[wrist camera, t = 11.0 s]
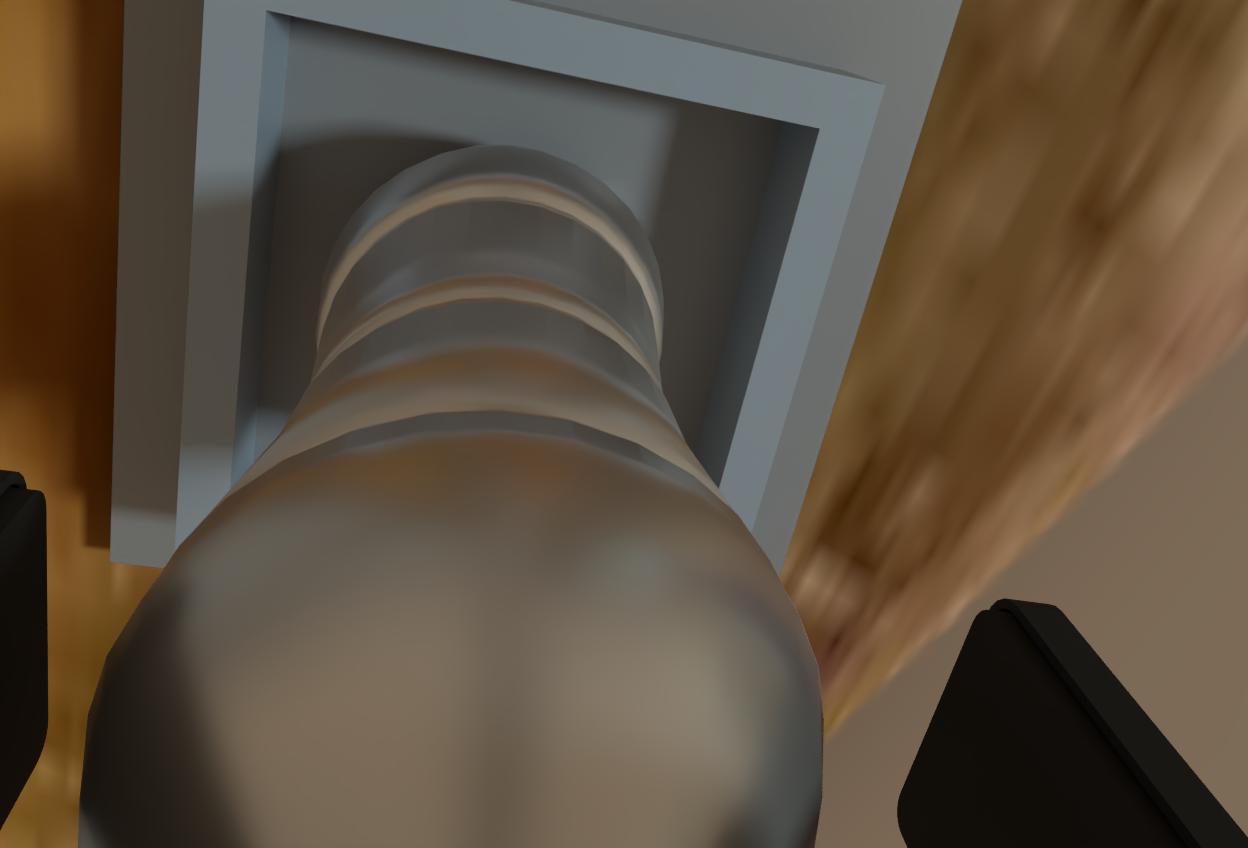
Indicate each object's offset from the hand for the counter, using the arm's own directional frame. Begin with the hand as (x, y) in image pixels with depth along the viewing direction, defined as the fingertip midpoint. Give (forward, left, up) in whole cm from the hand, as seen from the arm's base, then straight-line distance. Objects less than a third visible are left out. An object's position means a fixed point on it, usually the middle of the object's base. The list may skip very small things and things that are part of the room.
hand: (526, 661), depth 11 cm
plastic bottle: (0, 0, -14) cm, 14 cm away
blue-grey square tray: (0, 0, -14) cm, 14 cm away
